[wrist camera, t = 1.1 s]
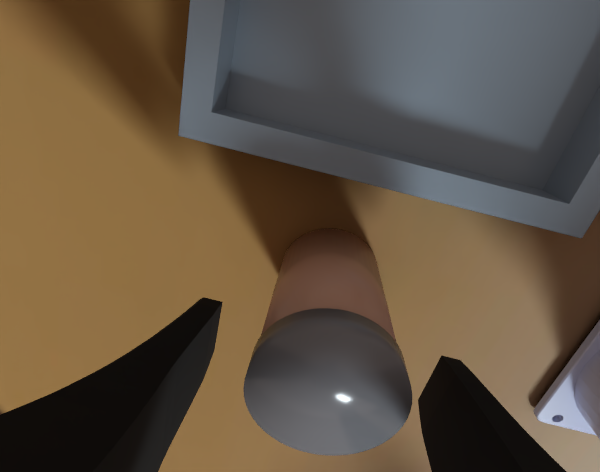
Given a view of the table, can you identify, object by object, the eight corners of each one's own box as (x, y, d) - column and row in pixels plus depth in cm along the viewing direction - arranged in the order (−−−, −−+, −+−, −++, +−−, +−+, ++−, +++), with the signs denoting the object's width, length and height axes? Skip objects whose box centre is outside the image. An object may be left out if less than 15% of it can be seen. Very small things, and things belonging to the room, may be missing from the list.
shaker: (394, 241, 15) (439, 357, 9) (362, 324, 17) (379, 469, 11) (291, 215, 15) (260, 312, 9) (270, 301, 17) (232, 434, 11)
